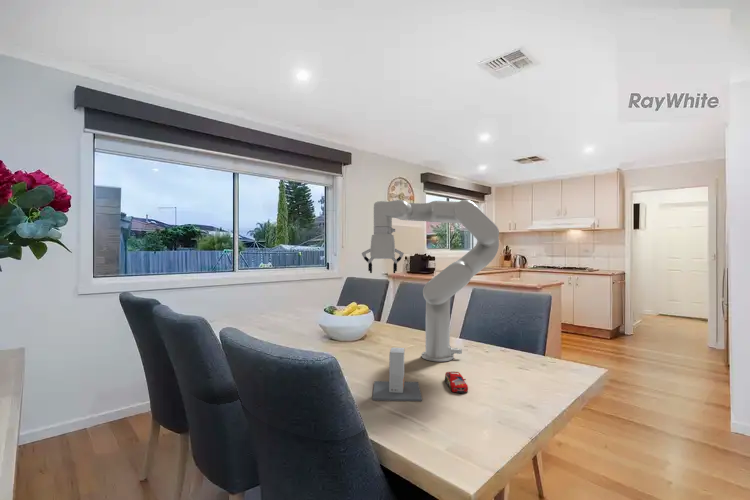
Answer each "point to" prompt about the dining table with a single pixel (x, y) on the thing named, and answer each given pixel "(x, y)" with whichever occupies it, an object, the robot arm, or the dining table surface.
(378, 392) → the mat
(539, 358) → the dining table surface
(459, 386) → the race car
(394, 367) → the skincare box
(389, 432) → the dining table surface
